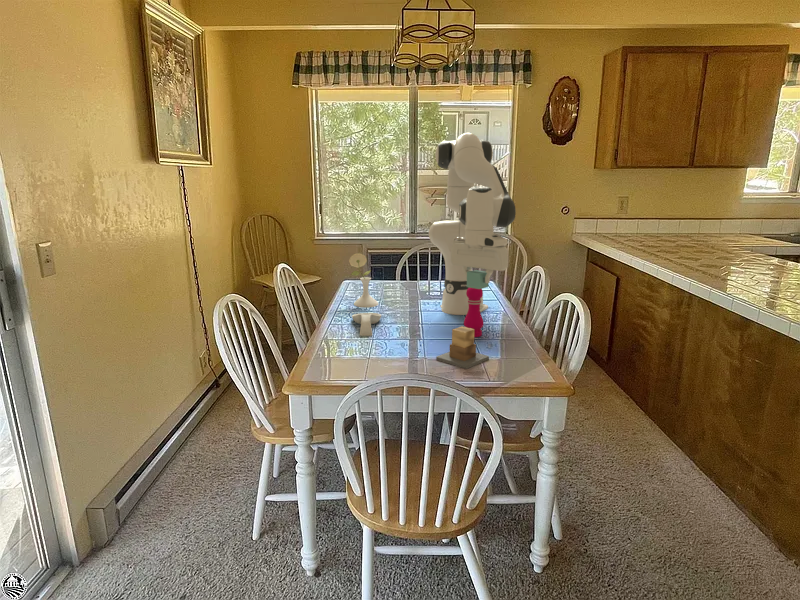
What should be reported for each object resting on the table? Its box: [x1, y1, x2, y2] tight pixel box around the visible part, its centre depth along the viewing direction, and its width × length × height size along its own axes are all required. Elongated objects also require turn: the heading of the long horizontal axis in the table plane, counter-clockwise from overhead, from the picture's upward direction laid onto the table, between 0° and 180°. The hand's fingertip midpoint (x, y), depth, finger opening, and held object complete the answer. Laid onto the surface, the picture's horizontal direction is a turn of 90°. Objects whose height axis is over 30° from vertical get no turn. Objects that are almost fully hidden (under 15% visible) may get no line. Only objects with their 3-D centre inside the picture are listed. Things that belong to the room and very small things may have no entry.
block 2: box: [467, 269, 490, 290], centre depth 163 cm, size 5×5×5 cm
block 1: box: [451, 325, 475, 348], centre depth 160 cm, size 5×5×5 cm
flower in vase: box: [348, 252, 379, 308], centre depth 224 cm, size 13×11×25 cm
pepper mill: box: [463, 288, 484, 338], centre depth 185 cm, size 7×7×20 cm
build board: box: [435, 351, 490, 370], centre depth 162 cm, size 12×12×1 cm
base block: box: [449, 343, 477, 361], centre depth 161 cm, size 6×6×4 cm
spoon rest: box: [351, 312, 382, 337], centre depth 196 cm, size 24×12×7 cm, turn 4°
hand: (477, 281), depth 163 cm, fingers closed on block 2, 5 cm apart
